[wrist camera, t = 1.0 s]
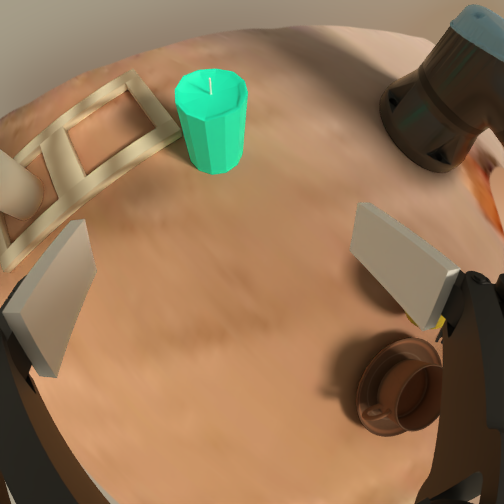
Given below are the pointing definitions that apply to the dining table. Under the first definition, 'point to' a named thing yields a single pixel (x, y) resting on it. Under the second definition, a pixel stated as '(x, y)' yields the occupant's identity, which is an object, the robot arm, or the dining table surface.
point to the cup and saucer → (401, 388)
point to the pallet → (71, 170)
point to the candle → (212, 118)
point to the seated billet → (18, 189)
